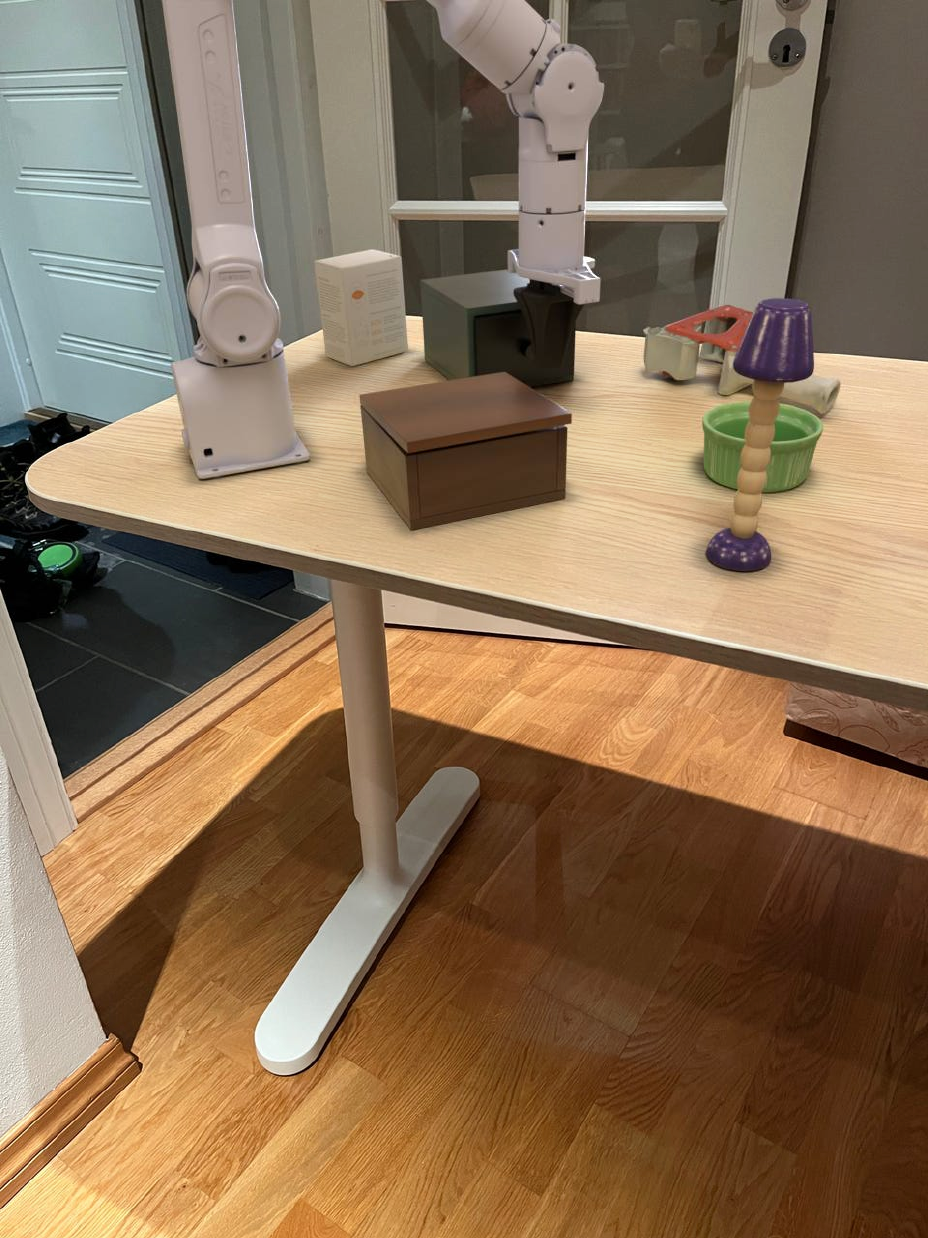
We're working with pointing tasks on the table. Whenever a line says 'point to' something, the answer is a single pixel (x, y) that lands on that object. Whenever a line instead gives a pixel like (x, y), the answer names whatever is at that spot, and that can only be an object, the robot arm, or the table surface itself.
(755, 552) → the toy lamp
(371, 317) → the small box
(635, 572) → the table surface
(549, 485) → the box
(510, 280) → the cabinet
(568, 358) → the drawer
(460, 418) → the box lid
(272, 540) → the table surface
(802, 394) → the tape dispenser
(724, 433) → the ramekin
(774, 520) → the table surface
